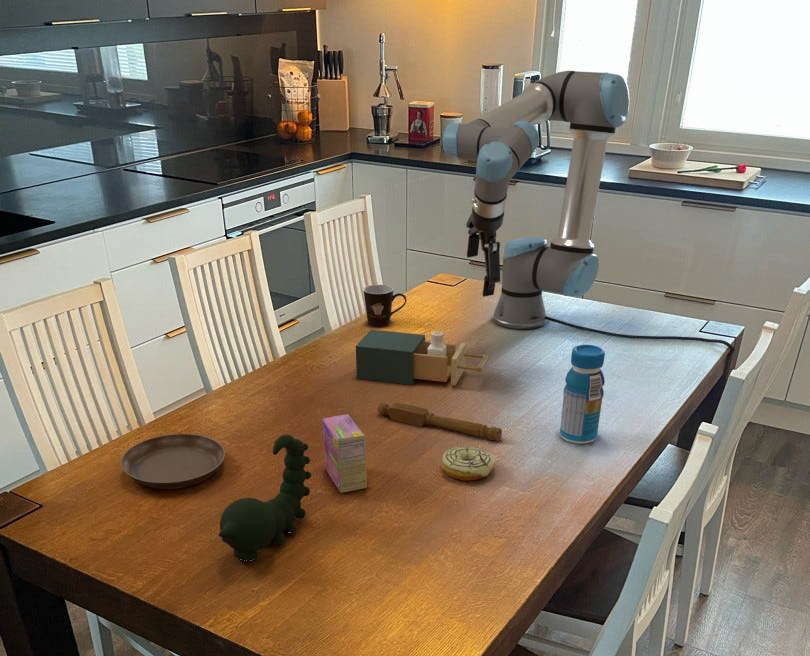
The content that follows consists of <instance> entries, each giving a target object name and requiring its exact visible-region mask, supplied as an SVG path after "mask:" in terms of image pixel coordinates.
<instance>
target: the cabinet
mask: <svg viewBox="0 0 810 656" xmlns="http://www.w3.org/2000/svg"><path fill="white" fill-rule="evenodd" d="M422 341H426V334H419V333H409V332H400V331H391V330H390V331H389V330H380V329H369V331H367V333H365V335H364V336H363V337H362V339H361V340H359V341H358V343H357V344H356V345H355V361H356V362H355V365H356V369H355V371H356V379H357V380H365V381H367V380H368V381H373V382H374V381H375V382H385V383H394V384H400V385H401V384H402V385H410V386H413V385H414V383H415V382H416V380H417V379H415V378H413V354H414V352H415V351H416V350H417V348H418V347H419V345H420V344H421V343H422Z"/></svg>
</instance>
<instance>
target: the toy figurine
mask: <svg viewBox="0 0 810 656" xmlns="http://www.w3.org/2000/svg"><path fill="white" fill-rule="evenodd" d="M282 449H285V453H286V454H285V456H284V458H283V462H284V467H285V468H284V469H283V470H282V480H283V481H281V483H280V486H279V493H278V494H276V495H275V497H274V498H270V499H269V500H267V501H263V500H260V499H257V498H254V497H243V498H239V499H236V500H234V501H232V502H231V503H229V504H228V505H227V506H226V507H225V509H224V510H223V512H222V513H221V517H220V520H219V533H218V537H220V538H221V541H222V542H223V543H225V544H226V545H228V547H230V548H232V549H233V555H234V558H236V557H237V558H238V559H237V558H236V559H237V560H239V561H241V562H243V563H252V562H254V561H255V560H256V559H257V557H258V552H259V551H261V550H263V549H264V548H265V547H267V546H269V544H270V543H271V544H272V545H275V544H276V545H275V546H280V545H282V544H283V543H284V541H285V540H286V537H285V533H286V534H287V535H288V536H293V535H294V534H296V531H297V526H296V525H295V524H294V522H295V518H296V519H298V520H299V519H300V520H302V519H304V518H305V517H306V515H307V513H306V510H305V509H304V508H302V502H301V500H302V499H304V497H308V496H310V494H311V489H310V488H309V487H308V486H305V484H304V483H305V481H306V480H310V479H311V478H312V473H311V472H310V471H309V470H305V469H304V468H305V467H306V465H308V464H310V463H311V458H310V457H309V456H305V451H307V450H308V449H309V445H308V443H304V442H303V441H302V440H301V439H298V438H294V436H293V435H291V434H282V435H280V436H279V437H277V438H276V440H275V441H274V444H273V448H272V454H273V455H274V456H276V455H278V453H279V452H280V451H281V450H282ZM284 532H285V533H284ZM288 532H291V533H288ZM281 543H282V544H281ZM255 558H256V559H255ZM240 559H242V560H240ZM253 559H254V560H253ZM244 560H245V561H244ZM246 560H247V561H246ZM250 560H252V561H250Z"/></svg>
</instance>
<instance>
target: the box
mask: <svg viewBox="0 0 810 656" xmlns="http://www.w3.org/2000/svg"><path fill="white" fill-rule="evenodd" d="M321 423H322V433H323V445H324V459H325V470H326V472H327V473H328V476H329V477H330V478H331V480H332V482H333V483H334V484H335V486H336V488H337V490H338V491H339V493H340V494H343V493H348V492H354V491H359V490H365V489H367V488H368V480H367V477H368V476H367V475H368V474H367V455H366V435H365V433H363V431H362V430H361V429H360V427H359V426H358V425H357V424H356V422H355V421H354V420H353V419H352V417H351V416H350V415H349V413H346V414H341V415H334V416H330V417H324V418H322V419H321Z"/></svg>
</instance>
